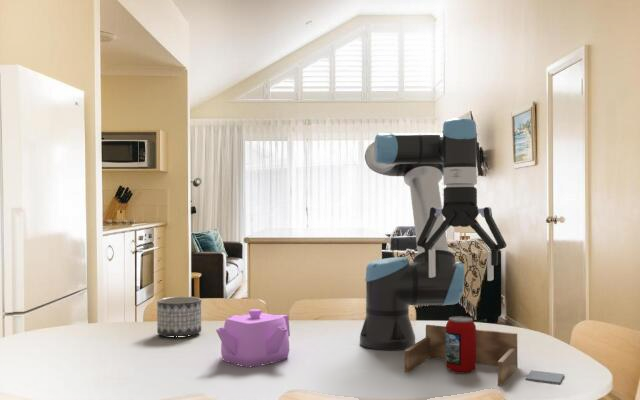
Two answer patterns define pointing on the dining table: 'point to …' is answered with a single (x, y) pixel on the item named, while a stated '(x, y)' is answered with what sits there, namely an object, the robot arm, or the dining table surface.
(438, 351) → the partition
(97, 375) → the dining table surface
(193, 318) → the planter
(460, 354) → the beverage can
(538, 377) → the mat
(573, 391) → the dining table surface
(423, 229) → the robot arm
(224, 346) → the teakettle
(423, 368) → the dining table surface
